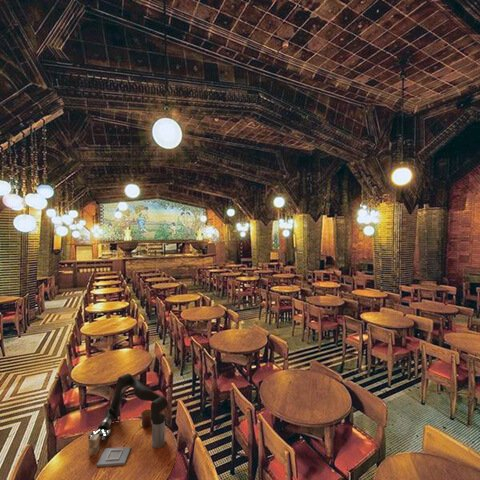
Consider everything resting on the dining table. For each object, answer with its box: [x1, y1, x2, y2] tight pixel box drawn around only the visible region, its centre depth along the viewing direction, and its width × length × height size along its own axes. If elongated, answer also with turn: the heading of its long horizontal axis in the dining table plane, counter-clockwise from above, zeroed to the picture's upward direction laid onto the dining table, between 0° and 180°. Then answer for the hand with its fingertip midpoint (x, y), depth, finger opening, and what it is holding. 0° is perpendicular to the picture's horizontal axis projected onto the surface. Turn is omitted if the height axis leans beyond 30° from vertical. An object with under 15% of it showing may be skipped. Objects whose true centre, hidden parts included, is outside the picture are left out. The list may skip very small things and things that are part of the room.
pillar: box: [88, 434, 100, 456], centre depth 194 cm, size 5×5×11 cm
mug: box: [140, 408, 152, 429], centre depth 223 cm, size 12×9×10 cm
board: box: [96, 446, 132, 468], centre depth 189 cm, size 18×14×2 cm
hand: (95, 441), depth 196 cm, fingers open, 8 cm apart
